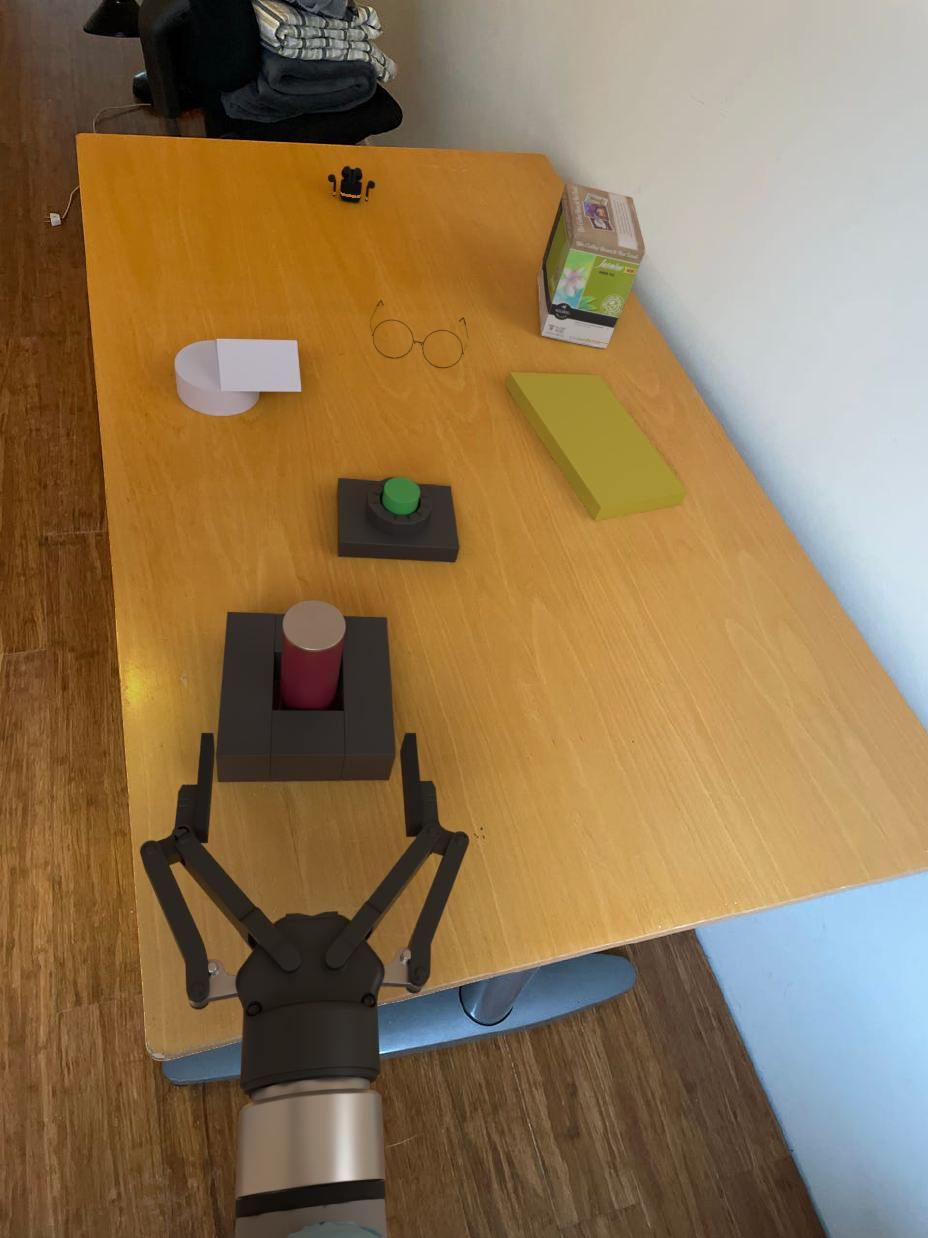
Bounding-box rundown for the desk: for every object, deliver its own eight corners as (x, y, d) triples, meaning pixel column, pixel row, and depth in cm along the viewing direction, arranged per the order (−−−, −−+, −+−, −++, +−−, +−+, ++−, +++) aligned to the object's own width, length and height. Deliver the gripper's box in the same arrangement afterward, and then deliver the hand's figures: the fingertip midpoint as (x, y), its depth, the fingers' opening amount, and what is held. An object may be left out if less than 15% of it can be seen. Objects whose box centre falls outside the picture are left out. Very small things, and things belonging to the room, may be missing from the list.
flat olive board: (680, 504, 96) (585, 377, 108) (687, 491, 95) (590, 363, 107) (594, 521, 92) (505, 386, 104) (600, 507, 90) (509, 372, 102)
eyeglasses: (375, 303, 109) (379, 268, 105) (467, 323, 111) (475, 289, 107) (364, 352, 102) (369, 317, 98) (463, 372, 104) (471, 338, 100)
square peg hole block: (217, 782, 64) (215, 755, 61) (228, 642, 72) (227, 611, 69) (388, 780, 67) (396, 755, 64) (381, 646, 76) (387, 616, 72)
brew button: (383, 514, 81) (385, 501, 79) (381, 488, 83) (383, 475, 81) (418, 516, 81) (421, 503, 80) (416, 490, 84) (418, 478, 82)
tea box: (608, 351, 113) (648, 249, 102) (538, 337, 112) (571, 233, 100) (599, 292, 123) (634, 193, 111) (534, 279, 121) (563, 177, 110)
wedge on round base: (289, 365, 97) (174, 364, 93) (291, 316, 92) (170, 312, 88) (299, 415, 92) (179, 416, 88) (302, 365, 87) (174, 364, 83)
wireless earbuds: (326, 200, 123) (328, 165, 119) (326, 191, 124) (329, 157, 121) (372, 207, 124) (376, 173, 121) (372, 199, 126) (376, 165, 122)
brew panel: (337, 556, 81) (341, 529, 78) (336, 492, 86) (339, 464, 83) (455, 562, 84) (463, 536, 81) (447, 500, 89) (454, 473, 86)
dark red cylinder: (278, 732, 68) (281, 649, 59) (279, 685, 71) (283, 598, 61) (333, 732, 69) (346, 650, 60) (333, 686, 72) (345, 601, 62)
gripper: (73, 1126, 44) (125, 768, 57) (515, 1080, 50) (473, 765, 62) (45, 1107, 38) (110, 714, 51) (550, 1059, 44) (496, 715, 56)
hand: (310, 741), depth 56 cm, fingers open, 13 cm apart
